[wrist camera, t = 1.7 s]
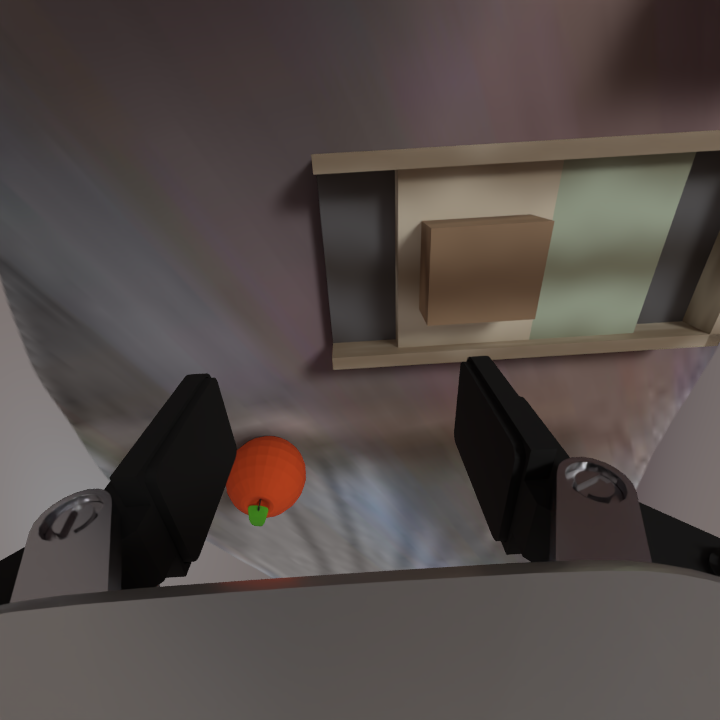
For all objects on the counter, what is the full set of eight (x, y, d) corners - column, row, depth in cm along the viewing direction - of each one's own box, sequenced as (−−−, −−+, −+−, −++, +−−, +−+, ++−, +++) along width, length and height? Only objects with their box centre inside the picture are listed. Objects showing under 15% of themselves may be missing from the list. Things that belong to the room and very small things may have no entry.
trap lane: (315, 155, 23) (311, 154, 20) (761, 129, 23) (824, 124, 20) (334, 348, 30) (333, 369, 27) (679, 327, 30) (717, 345, 27)
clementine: (303, 484, 37) (295, 548, 31) (235, 477, 37) (213, 541, 30) (313, 425, 34) (306, 484, 27) (238, 415, 33) (213, 474, 27)
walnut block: (421, 220, 23) (431, 228, 20) (530, 214, 23) (554, 220, 20) (418, 309, 26) (427, 325, 23) (515, 303, 26) (535, 319, 23)
